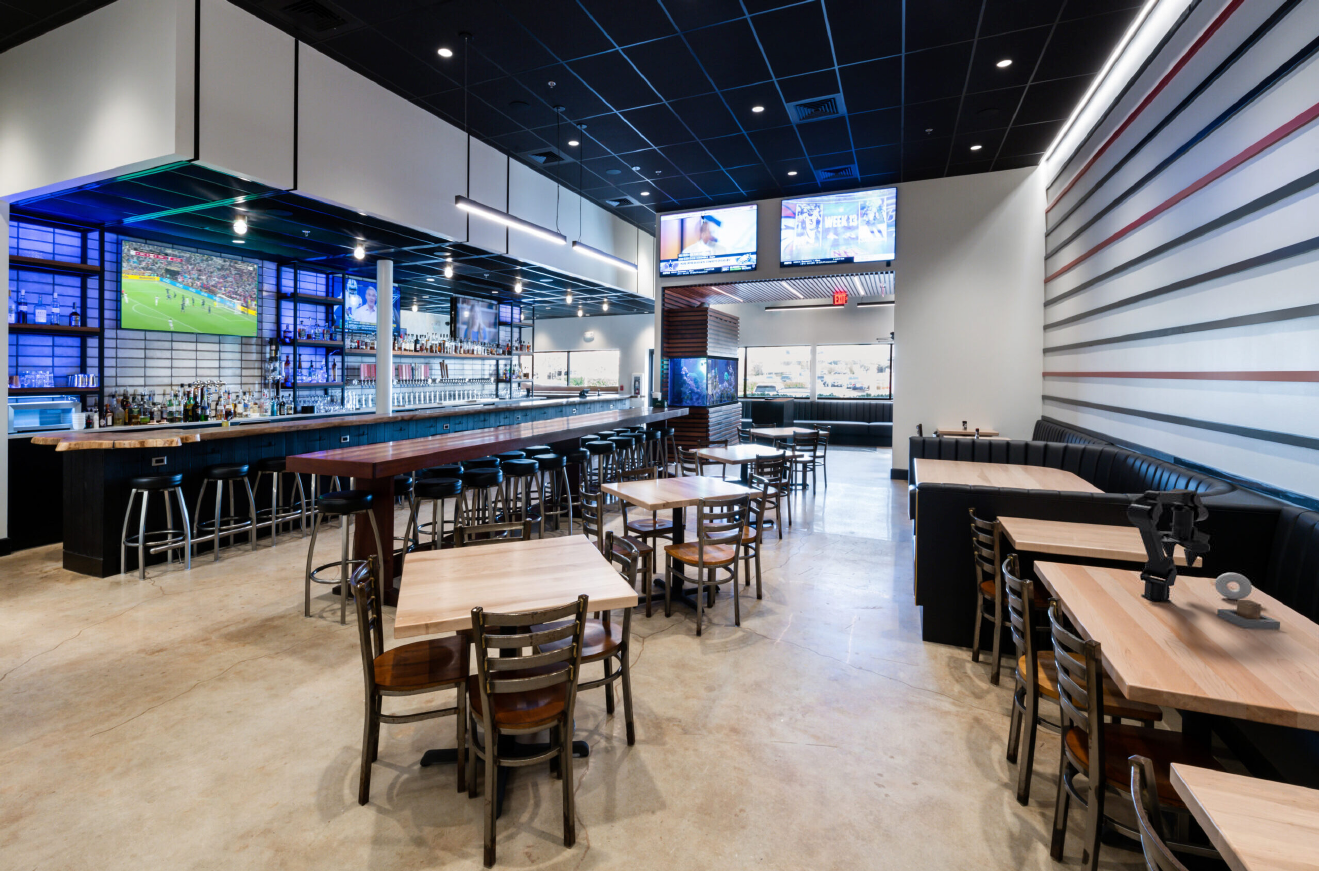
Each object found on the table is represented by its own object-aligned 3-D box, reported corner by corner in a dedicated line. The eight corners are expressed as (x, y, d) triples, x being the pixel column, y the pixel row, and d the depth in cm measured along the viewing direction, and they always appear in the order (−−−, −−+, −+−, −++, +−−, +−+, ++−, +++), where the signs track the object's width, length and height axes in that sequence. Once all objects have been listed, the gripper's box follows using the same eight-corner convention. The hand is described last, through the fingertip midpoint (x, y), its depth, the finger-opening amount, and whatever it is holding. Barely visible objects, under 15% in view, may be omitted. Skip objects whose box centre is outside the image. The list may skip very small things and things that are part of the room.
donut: (1214, 598, 223) (1216, 571, 222) (1212, 595, 226) (1215, 569, 225) (1252, 603, 217) (1254, 576, 216) (1249, 600, 220) (1251, 574, 219)
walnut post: (1246, 624, 198) (1248, 604, 197) (1235, 620, 202) (1237, 600, 201) (1259, 625, 198) (1261, 604, 197) (1248, 620, 202) (1250, 600, 201)
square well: (1244, 628, 195) (1245, 621, 195) (1217, 616, 205) (1217, 609, 205) (1279, 629, 194) (1280, 622, 194) (1250, 616, 205) (1250, 609, 204)
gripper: (1227, 528, 214) (1224, 571, 216) (1185, 517, 233) (1182, 556, 234) (1194, 528, 215) (1191, 570, 217) (1155, 517, 234) (1152, 556, 235)
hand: (1179, 563), depth 226 cm, fingers open, 9 cm apart
